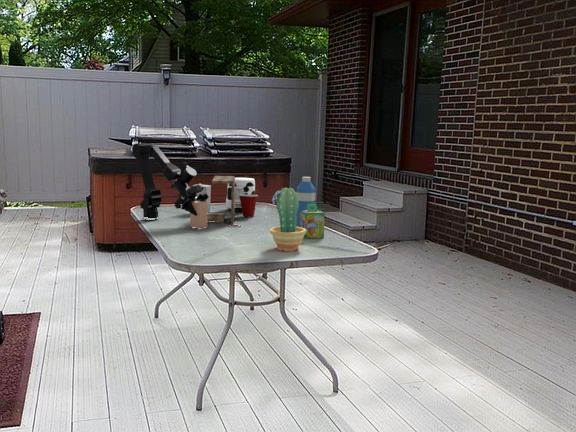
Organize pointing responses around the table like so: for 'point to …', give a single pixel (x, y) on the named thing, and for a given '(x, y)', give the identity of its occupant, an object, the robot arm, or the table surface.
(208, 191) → the skincare box
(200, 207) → the terracotta box
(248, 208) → the plastic cup
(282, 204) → the potted cactus
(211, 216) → the shelf
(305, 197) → the water bottle
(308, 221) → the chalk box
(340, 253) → the table surface
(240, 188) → the milk container
